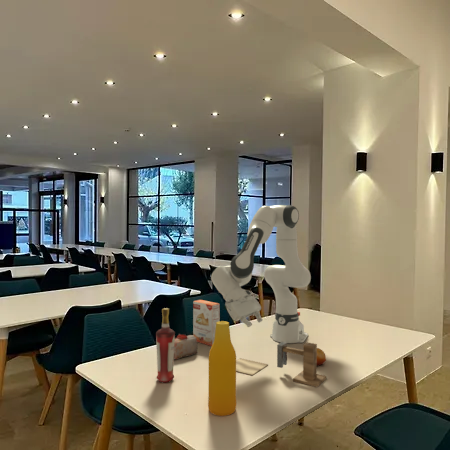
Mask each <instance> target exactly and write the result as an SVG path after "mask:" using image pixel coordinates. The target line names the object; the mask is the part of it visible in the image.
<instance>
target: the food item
mask: <svg viewBox="0 0 450 450" xmlns="http://www.w3.org/2000/svg"><path fill="white" fill-rule="evenodd" d="M198 353H199V352H198V342H197V340H196V337H194V336H193V334H189V335H186V334H181V333H178V335H177V336H176V337H175V342H174V361H175V360H178V359H181V358H186V357H188V356H192V355H197V354H198Z"/></svg>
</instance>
